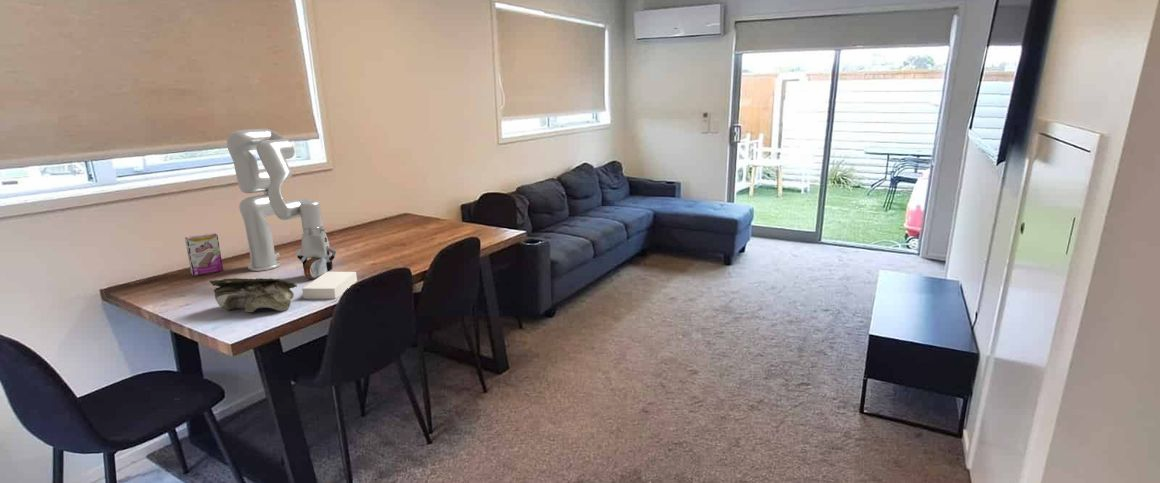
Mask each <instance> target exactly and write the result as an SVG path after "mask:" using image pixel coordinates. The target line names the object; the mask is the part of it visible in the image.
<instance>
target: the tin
mask: <svg viewBox="0 0 1160 483" xmlns="http://www.w3.org/2000/svg"><path fill="white" fill-rule="evenodd" d="M326 262H327V260H326V259H325V258H308V259H307V262H306V263H305V266H304V269H303V274H304V277H305V278H307V279H309V280H315V279H317V278H318V277H320V276H321V275H323V274H324V273H326V272H329V271H327V265H326Z"/></svg>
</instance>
